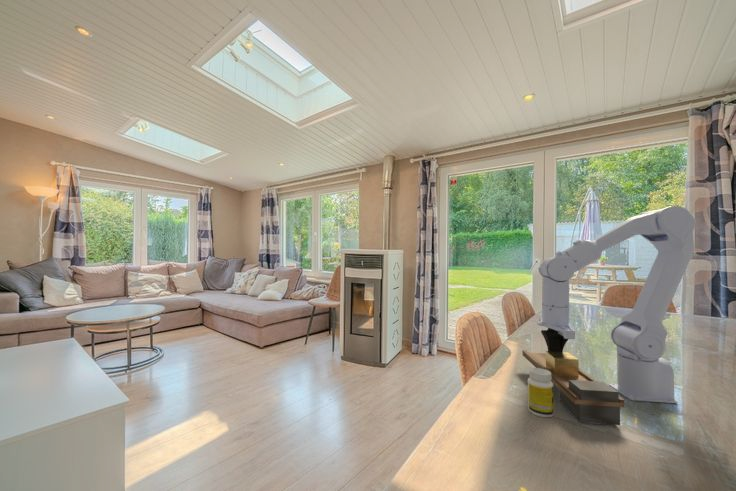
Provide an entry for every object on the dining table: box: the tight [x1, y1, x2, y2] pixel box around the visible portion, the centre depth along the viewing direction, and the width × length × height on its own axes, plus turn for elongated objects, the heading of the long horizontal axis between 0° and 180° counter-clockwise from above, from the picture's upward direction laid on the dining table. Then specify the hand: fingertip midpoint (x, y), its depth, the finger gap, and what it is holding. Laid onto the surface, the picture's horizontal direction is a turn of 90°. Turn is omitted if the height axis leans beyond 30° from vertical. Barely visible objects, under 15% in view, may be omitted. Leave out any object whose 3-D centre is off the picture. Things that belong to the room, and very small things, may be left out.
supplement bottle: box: [527, 367, 555, 418], centre depth 63 cm, size 5×5×8 cm
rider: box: [545, 350, 580, 377], centre depth 72 cm, size 5×5×4 cm
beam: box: [522, 349, 626, 426], centre depth 72 cm, size 9×28×6 cm, turn 172°
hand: (555, 360), depth 75 cm, fingers closed, pressing on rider
